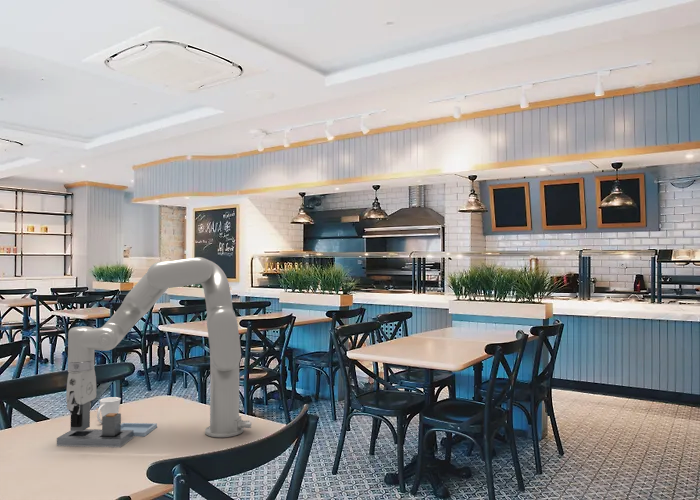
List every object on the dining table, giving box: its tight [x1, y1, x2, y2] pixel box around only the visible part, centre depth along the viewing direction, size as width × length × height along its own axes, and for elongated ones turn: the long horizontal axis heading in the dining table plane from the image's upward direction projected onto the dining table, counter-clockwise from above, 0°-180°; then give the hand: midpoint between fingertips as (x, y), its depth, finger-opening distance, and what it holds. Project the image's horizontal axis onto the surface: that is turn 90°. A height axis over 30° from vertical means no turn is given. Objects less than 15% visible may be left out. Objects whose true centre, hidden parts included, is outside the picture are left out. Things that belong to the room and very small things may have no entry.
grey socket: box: [56, 412, 134, 448], centre depth 173 cm, size 20×9×9 cm, turn 87°
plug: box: [69, 402, 91, 431], centre depth 174 cm, size 4×4×8 cm
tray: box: [121, 422, 158, 437], centre depth 184 cm, size 12×10×2 cm
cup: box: [96, 396, 122, 424], centre depth 195 cm, size 7×10×8 cm
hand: (80, 423), depth 174 cm, fingers closed on plug, 4 cm apart
